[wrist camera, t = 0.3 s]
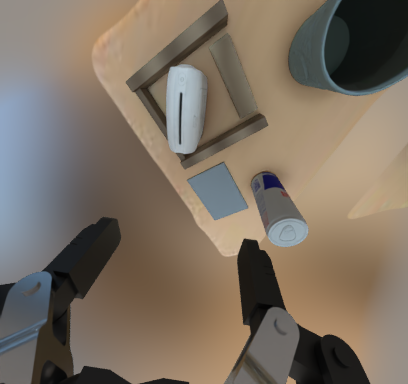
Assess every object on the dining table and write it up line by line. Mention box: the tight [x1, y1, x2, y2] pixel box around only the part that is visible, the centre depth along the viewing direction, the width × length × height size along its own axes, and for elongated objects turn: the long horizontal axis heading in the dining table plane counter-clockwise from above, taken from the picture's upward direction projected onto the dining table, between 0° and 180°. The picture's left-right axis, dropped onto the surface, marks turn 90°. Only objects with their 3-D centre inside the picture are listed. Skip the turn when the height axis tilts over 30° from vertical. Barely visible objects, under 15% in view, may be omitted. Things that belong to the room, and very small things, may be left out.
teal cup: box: [289, 0, 408, 96], centre depth 19 cm, size 10×10×12 cm
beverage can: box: [251, 172, 308, 247], centre depth 29 cm, size 6×6×15 cm
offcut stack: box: [209, 33, 258, 119], centre depth 25 cm, size 3×11×3 cm, turn 31°
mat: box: [187, 162, 248, 220], centre depth 38 cm, size 9×13×1 cm
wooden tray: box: [126, 0, 268, 169], centre depth 27 cm, size 16×16×4 cm
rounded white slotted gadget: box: [166, 64, 208, 154], centre depth 24 cm, size 10×4×12 cm, turn 174°
